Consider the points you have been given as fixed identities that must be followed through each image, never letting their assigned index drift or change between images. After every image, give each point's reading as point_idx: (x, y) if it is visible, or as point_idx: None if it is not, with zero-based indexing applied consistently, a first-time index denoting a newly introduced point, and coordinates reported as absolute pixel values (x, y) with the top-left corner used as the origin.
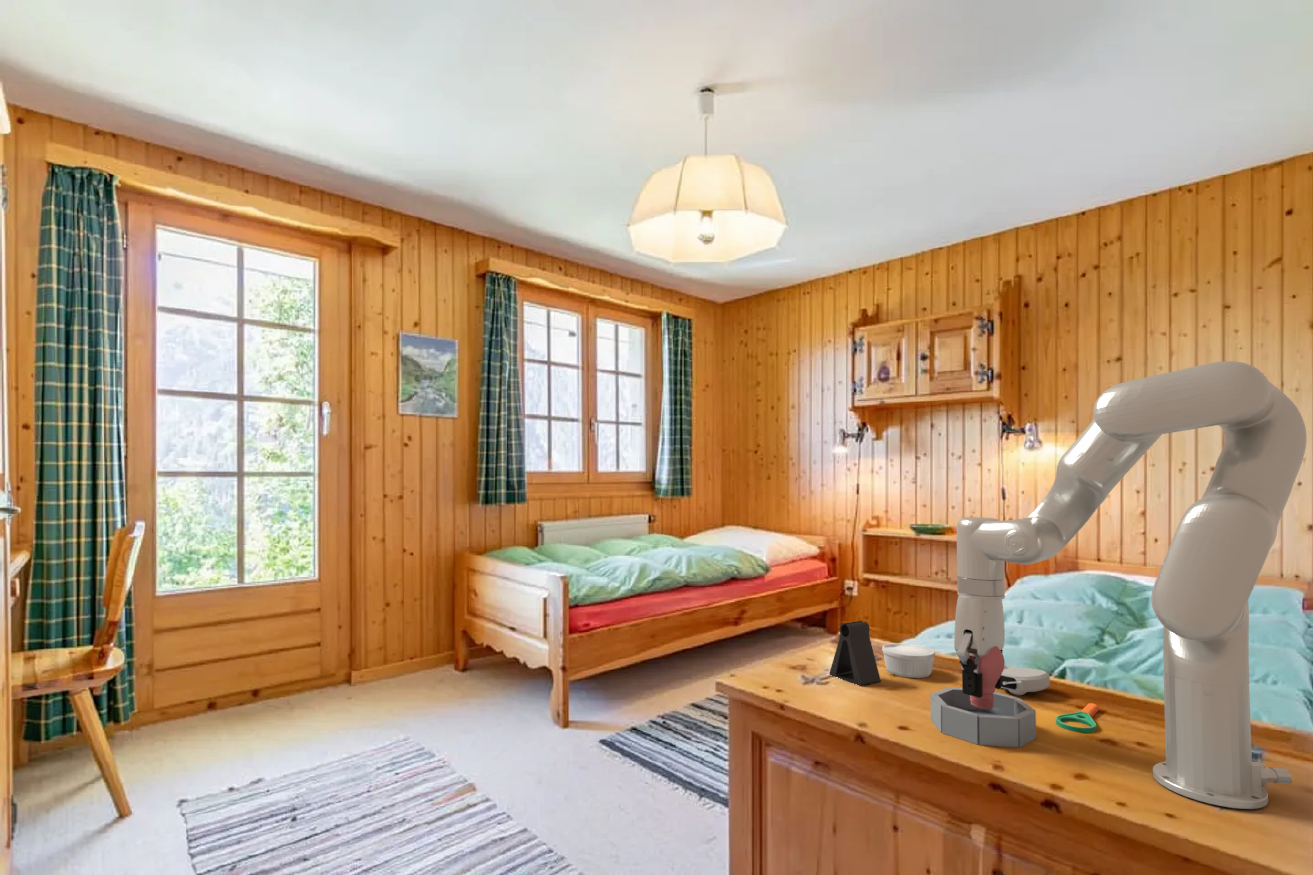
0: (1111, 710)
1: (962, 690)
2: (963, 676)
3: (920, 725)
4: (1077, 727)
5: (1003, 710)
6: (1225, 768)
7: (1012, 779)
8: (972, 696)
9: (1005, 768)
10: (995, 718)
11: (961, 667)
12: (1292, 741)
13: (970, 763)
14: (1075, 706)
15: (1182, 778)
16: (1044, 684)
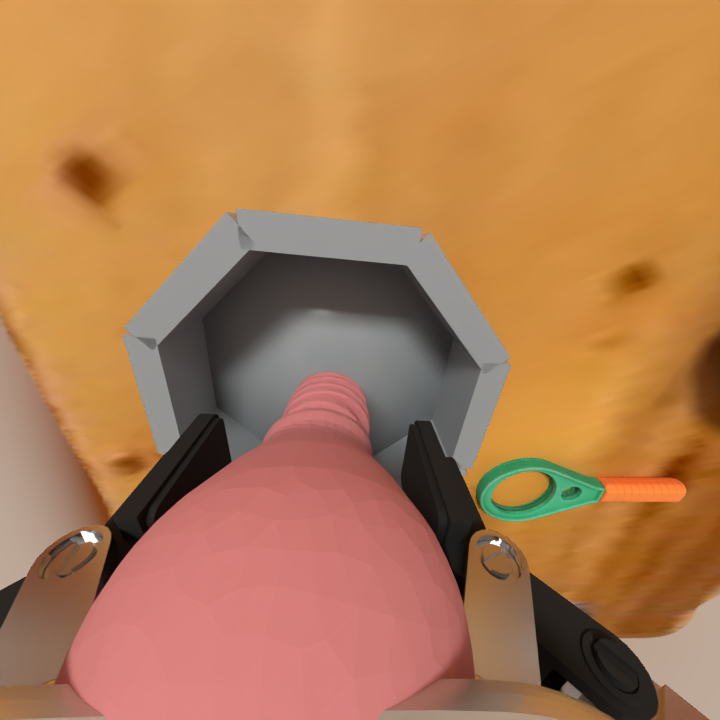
0: (682, 502)
1: (196, 417)
2: (149, 481)
3: (177, 218)
4: (481, 505)
5: (443, 404)
6: None
7: (107, 494)
8: (287, 406)
9: (140, 474)
10: None
11: (45, 556)
12: (623, 635)
13: (83, 428)
14: (683, 455)
15: None
16: None
